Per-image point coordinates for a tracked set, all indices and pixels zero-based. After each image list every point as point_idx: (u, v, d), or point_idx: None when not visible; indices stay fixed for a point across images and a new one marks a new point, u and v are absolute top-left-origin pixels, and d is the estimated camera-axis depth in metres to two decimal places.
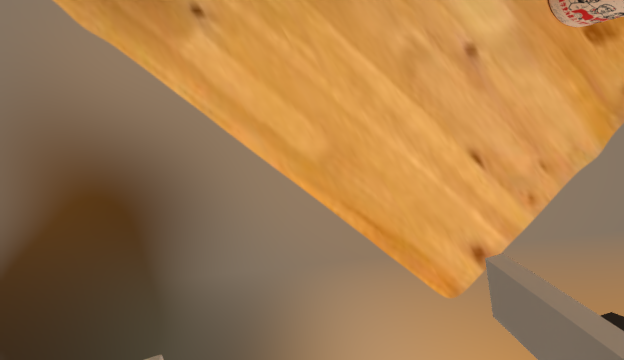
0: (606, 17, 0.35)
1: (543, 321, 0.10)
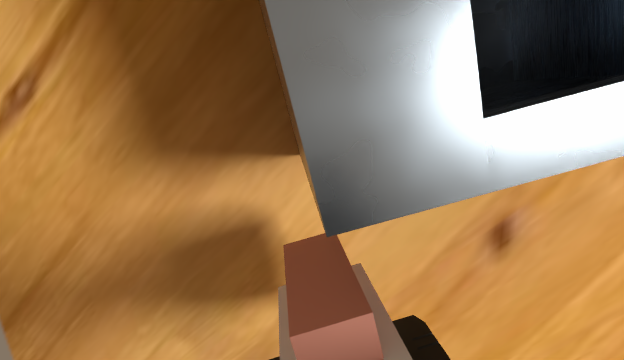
0: None
1: None
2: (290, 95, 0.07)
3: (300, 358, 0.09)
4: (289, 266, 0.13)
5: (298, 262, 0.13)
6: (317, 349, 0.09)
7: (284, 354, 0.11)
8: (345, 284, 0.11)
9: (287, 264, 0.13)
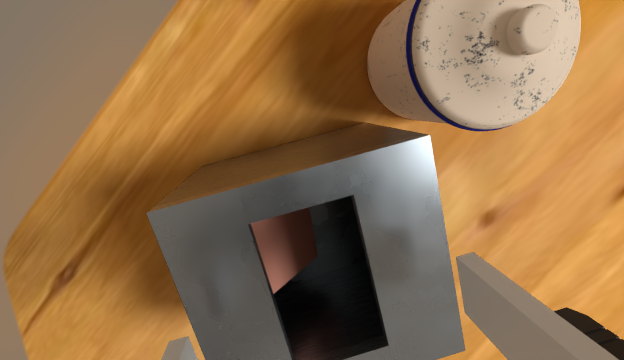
0: None
1: (504, 316, 0.11)
2: None
3: None
4: None
5: None
6: None
7: None
8: None
9: None
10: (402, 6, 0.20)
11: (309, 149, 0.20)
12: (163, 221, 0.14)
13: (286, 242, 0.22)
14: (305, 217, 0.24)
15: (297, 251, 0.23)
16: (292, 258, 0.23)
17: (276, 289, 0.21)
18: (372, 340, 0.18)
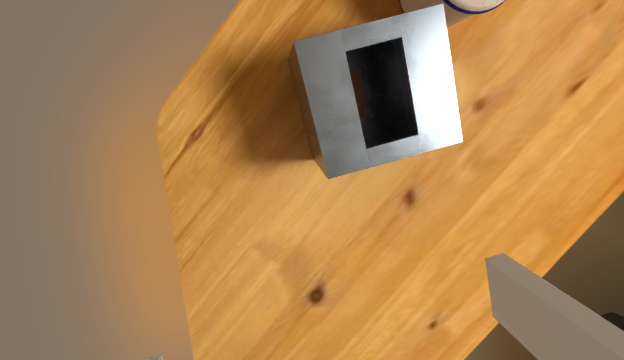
0: None
1: (543, 321, 0.10)
2: (319, 144, 0.29)
3: None
4: None
5: None
6: None
7: None
8: None
9: None
10: None
11: None
12: (302, 47, 0.27)
13: None
14: (359, 88, 0.36)
15: None
16: None
17: None
18: (408, 135, 0.31)
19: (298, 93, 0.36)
